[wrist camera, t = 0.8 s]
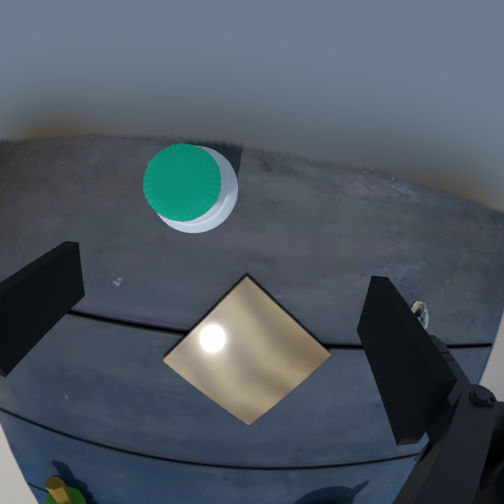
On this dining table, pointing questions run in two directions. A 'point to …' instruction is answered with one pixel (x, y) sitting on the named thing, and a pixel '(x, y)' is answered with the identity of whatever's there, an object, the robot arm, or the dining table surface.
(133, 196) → the dining table surface
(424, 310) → the geode
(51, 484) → the decorative tree
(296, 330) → the gold metal sheet
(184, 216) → the water bottle
